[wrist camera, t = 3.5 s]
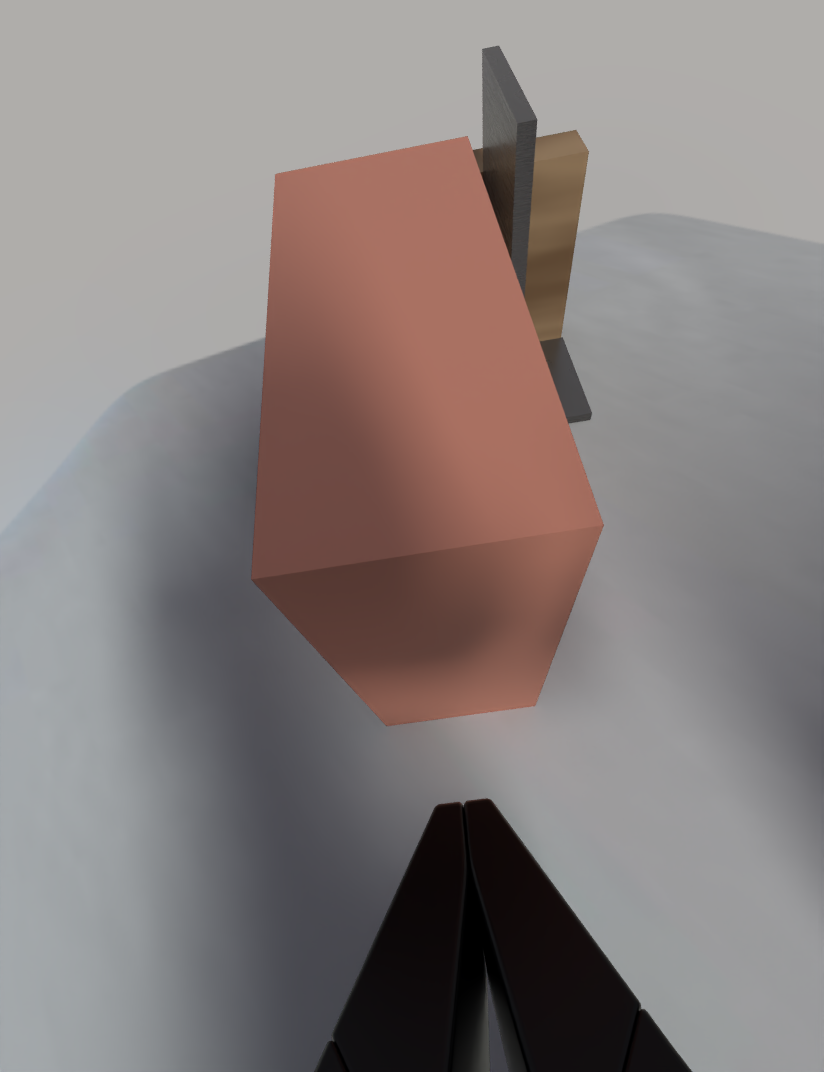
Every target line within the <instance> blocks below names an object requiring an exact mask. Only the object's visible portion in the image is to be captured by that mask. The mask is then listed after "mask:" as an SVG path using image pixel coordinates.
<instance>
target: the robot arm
mask: <svg viewBox="0 0 824 1072" xmlns="http://www.w3.org/2000/svg"><path fill="white" fill-rule="evenodd" d="M484 956H485V957H484ZM485 962H486V966H485ZM486 968H487V974H488V980H489V985H490V990H491V995H492V1000H493V1004H494V1009H495V1013H496V1017H497V1022H498V1026H499V1030H500V1035H501V1039H502V1043H503V1048H504V1052H505V1056H506V1060H507V1065H508V1069H509V1072H692V1071H691V1069H690V1068H689V1067H688V1066H687V1064H686V1063H685V1062H684V1060H683V1059H682V1058H681V1056H680V1055H679V1054H678V1053H677V1051H676V1050H675V1049H674V1047H673V1046H672V1045H671V1043H670V1042H669V1041H668V1039H667V1038H666V1037H665V1035H664V1034H663V1033H662V1031H661V1030H660V1028H659V1027H658V1026H657V1024H656V1023H655V1022H654V1020H653V1019H652V1018H651V1016H650V1015H649V1013H648V1012H647V1011H646V1010H645V1009H641V1004H640V1002H639V1000H638V999H637V998H636V996H635V995H634V994H633V992H632V991H631V989H630V988H629V987H628V985H627V984H626V983H625V981H624V980H623V979H622V977H621V976H620V974H619V973H618V972H617V970H616V969H615V968H614V966H613V965H612V964H611V962H610V961H609V959H608V958H607V957H606V955H605V954H604V953H603V951H602V950H601V949H600V947H599V946H598V944H597V943H596V942H595V940H594V939H593V938H592V936H591V935H590V934H589V932H588V931H587V929H586V928H585V927H584V925H583V924H582V923H581V921H580V920H579V919H578V917H577V916H576V914H575V913H574V912H573V910H572V909H571V908H570V906H569V905H568V904H567V902H566V901H565V899H564V898H563V897H562V895H561V894H560V893H559V891H558V890H557V889H556V887H555V886H554V884H553V883H552V882H551V880H550V879H549V878H548V876H547V875H546V874H545V872H544V871H543V869H542V868H541V867H540V865H539V864H538V863H537V861H536V860H535V859H534V857H533V856H532V854H531V853H530V852H529V850H528V849H527V848H526V846H525V845H524V844H523V842H522V841H521V839H520V838H519V837H518V835H517V834H516V833H515V831H514V830H513V829H512V827H511V826H510V824H509V823H508V822H507V820H506V819H505V818H504V816H503V815H502V814H501V812H500V811H499V809H498V808H497V807H496V805H495V804H494V803H493V802H492V801H491V800H490V799H487V798H486V799H478V800H470V801H466V802H465V804H464V807H463V805H462V803H460V802H454V803H446V804H439V805H437V806H436V807H435V808H434V810H433V812H432V814H431V817H430V819H429V821H428V823H427V825H426V828H425V830H424V832H423V834H422V836H421V839H420V841H419V843H418V845H417V847H416V850H415V852H414V854H413V856H412V858H411V861H410V863H409V865H408V867H407V869H406V872H405V874H404V876H403V878H402V880H401V883H400V885H399V887H398V889H397V891H396V894H395V896H394V898H393V900H392V902H391V905H390V907H389V909H388V911H387V913H386V916H385V918H384V920H383V922H382V924H381V927H380V929H379V931H378V933H377V936H376V938H375V940H374V942H373V944H372V947H371V949H370V951H369V953H368V955H367V958H366V960H365V962H364V964H363V966H362V969H361V971H360V973H359V975H358V977H357V980H356V982H355V984H354V986H353V988H352V991H351V993H350V995H349V997H348V999H347V1002H346V1004H345V1006H344V1008H343V1010H342V1013H341V1015H340V1017H339V1019H338V1021H337V1024H336V1026H335V1028H334V1030H333V1032H332V1040H333V1041H329V1042H328V1043H327V1045H326V1047H325V1049H324V1051H323V1054H322V1056H321V1058H320V1060H319V1062H318V1065H317V1067H316V1069H315V1071H314V1072H490V1057H489V1019H488V991H487V976H486Z"/></svg>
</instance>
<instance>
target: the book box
mask: <svg viewBox="0 0 824 1072" xmlns="http://www.w3.org/2000/svg"><path fill="white" fill-rule="evenodd" d="M273 206H274V207H273V222H272V239H271V257H270V272H269V290H268V306H267V323H266V339H265V356H264V373H263V390H262V407H261V423H260V440H259V457H258V474H257V491H256V507H255V524H254V541H253V558H252V575H251V580H252V581H253V582H254V583H255V584H256V585H257V586H258V587H259V588H260V589H261V591H262V592H263V593H264V594H265V595H266V596H267V597H268V598H269V599H270V600H271V601H272V602H273V604H274V605H275V606H276V607H277V608H278V609H279V610H280V611H281V612H282V613H283V614H284V615H285V617H286V618H287V619H288V620H289V621H290V622H291V623H292V624H293V625H294V626H295V627H296V628H297V630H298V631H299V632H300V633H301V634H302V635H303V636H304V637H305V638H306V639H307V640H308V641H309V643H310V644H311V645H312V646H313V647H314V648H315V649H316V650H317V651H318V652H319V653H320V654H321V656H322V657H323V658H324V659H325V660H326V661H327V662H328V663H329V664H330V665H331V666H332V667H333V669H334V670H335V671H336V672H337V673H338V674H339V675H340V676H341V677H342V678H343V679H344V680H345V682H346V683H347V684H348V685H349V686H350V687H351V688H352V689H353V690H354V691H355V692H356V693H357V695H358V696H359V697H360V698H361V699H362V700H363V701H364V702H365V703H366V704H367V705H368V706H369V708H370V709H371V710H372V711H373V712H374V713H375V714H376V715H377V716H378V717H379V718H380V719H381V721H382V722H383V723H384V724H385V725H386V726H391V725H399V724H406V723H413V722H421V721H428V720H435V719H443V718H450V717H457V716H465V715H472V714H479V713H487V712H494V711H502V710H509V709H516V708H524V707H531V706H535V705H536V702H537V700H538V697H539V694H540V692H541V689H542V686H543V684H544V681H545V679H546V676H547V673H548V671H549V668H550V665H551V663H552V660H553V657H554V655H555V652H556V650H557V647H558V644H559V642H560V639H561V636H562V634H563V631H564V628H565V626H566V623H567V621H568V618H569V615H570V613H571V610H572V607H573V605H574V602H575V599H576V597H577V594H578V592H579V589H580V586H581V584H582V581H583V578H584V576H585V573H586V571H587V568H588V565H589V563H590V560H591V557H592V555H593V552H594V549H595V547H596V544H597V542H598V539H599V536H600V534H601V531H602V528H603V526H604V524H603V522H602V519H601V516H600V513H599V510H598V507H597V504H596V502H595V499H594V496H593V493H592V490H591V487H590V484H589V482H588V479H587V476H586V473H585V470H584V467H583V464H582V462H581V459H580V456H579V453H578V450H577V447H576V444H575V442H574V439H573V436H572V433H571V430H570V427H569V424H568V422H567V419H566V416H565V413H564V410H563V407H562V404H561V402H560V399H559V396H558V393H557V390H556V387H555V384H554V382H553V379H552V376H551V373H550V370H549V367H548V364H547V362H546V359H545V356H544V353H543V350H542V347H541V344H540V342H539V339H538V336H537V333H536V330H535V327H534V324H533V322H532V319H531V316H530V313H529V310H528V307H527V304H526V302H525V299H524V296H523V293H522V290H521V287H520V284H519V282H518V279H517V276H516V273H515V270H514V267H513V264H512V262H511V259H510V256H509V253H508V250H507V247H506V244H505V242H504V239H503V236H502V233H501V230H500V227H499V224H498V222H497V219H496V216H495V213H494V210H493V207H492V204H491V202H490V199H489V196H488V193H487V190H486V187H485V184H484V182H483V179H482V176H481V173H480V170H479V167H478V164H477V162H476V159H475V156H474V153H473V150H472V147H471V144H470V142H469V139H468V136H466V137H461V138H456V139H450V140H446V141H440V142H435V143H430V144H425V145H420V146H415V147H410V148H405V149H400V150H395V151H390V152H385V153H379V154H375V155H369V156H365V157H359V158H354V159H349V160H344V161H339V162H334V163H329V164H324V165H318V166H313V167H308V168H304V169H298V170H293V171H288V172H283V173H278V174H276V175H275V188H274V205H273Z"/></svg>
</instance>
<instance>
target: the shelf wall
mask: <svg viewBox="0 0 824 1072" xmlns="http://www.w3.org/2000/svg"><path fill="white" fill-rule="evenodd" d="M473 153H474V156H475V159H476V162H477V164H478V167H479V170H480V173H481V176H482V179H483V148H481V149H476V150H473ZM588 154H589V151H588V149H587V147H586V146H585V144H584V143H583V141H582V139H581V138H580V136H579V134H578V132H577V131H576V130H573V131H568V132H563V133H558V134H553V135H548V136H543V137H537V138H536V144H535V158H534V172H533V186H532V200H531V214H530V228H529V242H528V256H527V270H526V284H525V298H524V299H525V302H526V304H527V307H528V310H529V313H530V316H531V319H532V322H533V324H534V327H535V330H536V333H537V336H538V339H539V341H545V340H550V339H556V338H561V333H562V326H563V320H564V313H565V307H566V300H567V293H568V287H569V280H570V273H571V267H572V260H573V253H574V247H575V240H576V233H577V226H578V220H579V213H580V207H581V200H582V193H583V187H584V180H585V174H586V166H587V160H588Z"/></svg>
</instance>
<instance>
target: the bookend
mask: <svg viewBox="0 0 824 1072" xmlns="http://www.w3.org/2000/svg"><path fill="white" fill-rule="evenodd" d="M482 52H483V53H482V56H483V57H482V58H483V59H482V67H483V69H482V71H483V73H482V76H483V77H482V78H483V182H484V184H485V187H486V190H487V193H488V196H489V199H490V202H491V204H492V207H493V210H494V213H495V216H496V219H497V222H498V224H499V227H500V230H501V233H502V236H503V239H504V242H505V244H506V247H507V250H508V253H509V256H510V259H511V262H512V264H513V267H514V270H515V273H516V276H517V279H518V282H519V284H520V287H521V290H522V293H523V296H524V298H525V284H526V270H527V256H528V242H529V228H530V214H531V200H532V186H533V172H534V158H535V144H536V129H537V118H536V116H535V114H534V112H533V110H532V108H531V106H530V105H529V103H528V101H527V99H526V97H525V95H524V93H523V91H522V89H521V87H520V85H519V83H518V81H517V79H516V78H515V76H514V74H513V72H512V70H511V68H510V66H509V64H508V62H507V60H506V58H505V56H504V54H503V53H502V51H501V49H500V47H499V46H495V47H490V48H485V49H482ZM539 342H540V344H541V347H542V350H543V353H544V356H545V359H546V362H547V364H548V367H549V370H550V373H551V376H552V379H553V382H554V384H555V387H556V390H557V393H558V396H559V399H560V402H561V404H562V407H563V410H564V413H565V416H566V419H567V422H568V423H573V422H579V421H586V420H590V419H591V415H592V412H591V409H590V407H589V404H588V402H587V399H586V397H585V394H584V391H583V389H582V386H581V384H580V381H579V378H578V376H577V373H576V371H575V368H574V366H573V363H572V360H571V358H570V355H569V353H568V350H567V347H566V345H565V342H564V340H563V337H562V338H556V339H550V340H545V341H539Z"/></svg>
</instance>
